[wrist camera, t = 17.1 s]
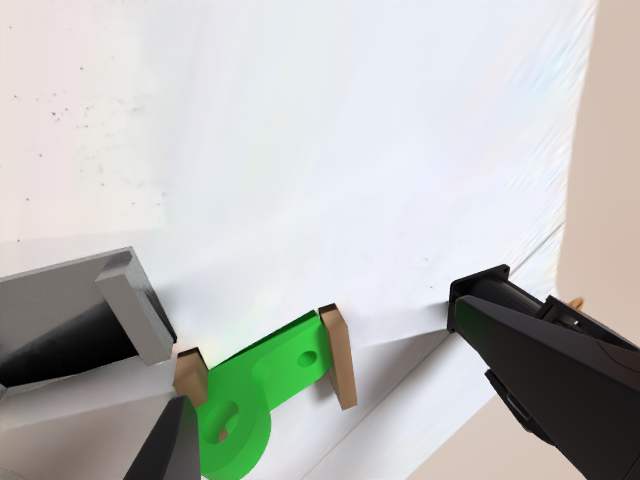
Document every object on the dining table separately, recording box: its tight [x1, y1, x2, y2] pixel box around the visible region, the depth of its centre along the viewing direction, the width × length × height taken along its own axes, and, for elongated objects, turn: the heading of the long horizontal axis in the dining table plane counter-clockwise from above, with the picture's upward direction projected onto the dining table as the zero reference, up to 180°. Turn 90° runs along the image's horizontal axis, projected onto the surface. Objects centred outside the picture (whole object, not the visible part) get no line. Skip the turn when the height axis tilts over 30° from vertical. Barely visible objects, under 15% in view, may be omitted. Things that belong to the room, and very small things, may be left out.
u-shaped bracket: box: [0, 246, 177, 400], centre depth 18 cm, size 12×8×3 cm, turn 98°
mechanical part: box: [196, 309, 331, 480], centre depth 23 cm, size 12×6×8 cm, turn 114°
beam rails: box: [173, 303, 358, 442], centre depth 26 cm, size 13×10×3 cm
